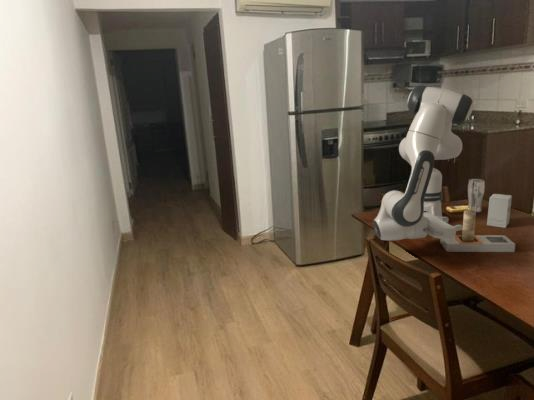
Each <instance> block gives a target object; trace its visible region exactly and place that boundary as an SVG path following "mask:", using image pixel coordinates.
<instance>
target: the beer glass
mask: <svg viewBox="0 0 534 400" xmlns="http://www.w3.org/2000/svg"><path fill="white" fill-rule="evenodd" d="M485 187H486V186H485V180H484V179H481V178H471V179H468V184H467V198H468V206H467V209H468V208H469V209H471V210H472V211H476V214H477V213H481V212H482V201H483V198H484V194H485Z"/></svg>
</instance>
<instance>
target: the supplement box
mask: <svg viewBox="0 0 534 400" xmlns="http://www.w3.org/2000/svg"><path fill="white" fill-rule="evenodd" d="M512 199H513V196H512V195H510V194H501V193H493V194H491V196H489V201H488V209H487V220H486V221H487V222H486V226H490V227H491V226H492V227H497V228H505V229H506V228H507V226H508V225H509V224H510V215H511V208H512Z"/></svg>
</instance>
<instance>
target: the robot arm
mask: <svg viewBox="0 0 534 400" xmlns="http://www.w3.org/2000/svg"><path fill="white" fill-rule="evenodd" d="M473 102H474V100H473V99H472V97H471V96H469V95H467V94H465V93H459V92H456V91H453V90H451V89H449V88H439V87H434V86H433V87H432V86H427V85H422V84H421V85H416V86H414V88H413V89H412V90H411V92H410V93H409V95H408V97H407V105H406V107H407V109H408V111H409V113H411V114H412V116H413V120H412V122H411V124H410V125H409V129H408V131H407V134H406V137H403V138H402V139H401V140H400V143H399V146H398V152H399V153H398V154H399V155H400V156H401V158H402V159H403V160H405V161H406V162H407V164H409V165H410V166H411V171H410V175H409V179H408V182H407V186H406V187H405V188H406V189H405V192H403V191H400V190H396V189H393V190H389V191H387V192H386V193H385V194H384V195H383V196H382V198H381V205H380V207H379V208H380V209H379V211H378V213H377V216H376V217H375V218H374V219H373V222H372V225H373V230H374V233H375V235H376V237H378V239H380V240H381V241H401V240H403V239H409V240H416V239H425V238H426V237H427V236H431V237H432V238H434V239H440V238H454V237H455V236H456V235H457V232H458V231H462V230H463V224H455V225H451V224H449V220H450V219H449V217H448V216H443V214H442V213H443V212H442V210H443V209H442V203H443V190H442V188H443V187H442V186H443V185H442V184H443V174H442V172H441V171H440V170H439V169H437V168H435V167H434V166H435V161H441V160H442V161H443V160H450V159H453V158H454V159H456V158H458V157H459V156H460V154H461V153H462V151H463V142H462V138H461V137H459V136H458V135H456V134H455V133H454V132H452V125H462V124H464V123H465V122H466V121H467V120H468V119H469V118H470V117H471V115H472V113H473V109H474V108H473V107H474V104H473Z"/></svg>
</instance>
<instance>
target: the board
mask: <svg viewBox="0 0 534 400" xmlns="http://www.w3.org/2000/svg"><path fill="white" fill-rule="evenodd" d="M439 239H440V241H439V243H440V244H441V246H442V248H443V249H444V250H445V252H448V253H449V252H450V253H453V252H455V253H459V252H460V253H463V252H464V253H465V252H466V253H469V252H470V253H471V252H472V253H474V252H475V253H476V252H477V253H515V250H516V243H514V242H513V241H512V240H511V239H510V238H508V237H507V236H506V235H501V234H499V235H497V234H495V235H494V234H493V235H492V234H491V235H489V234H488V235H479V234H477V235H475V234H474V242H462V235H460V234H456V236H455V237H454V238H439Z"/></svg>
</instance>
